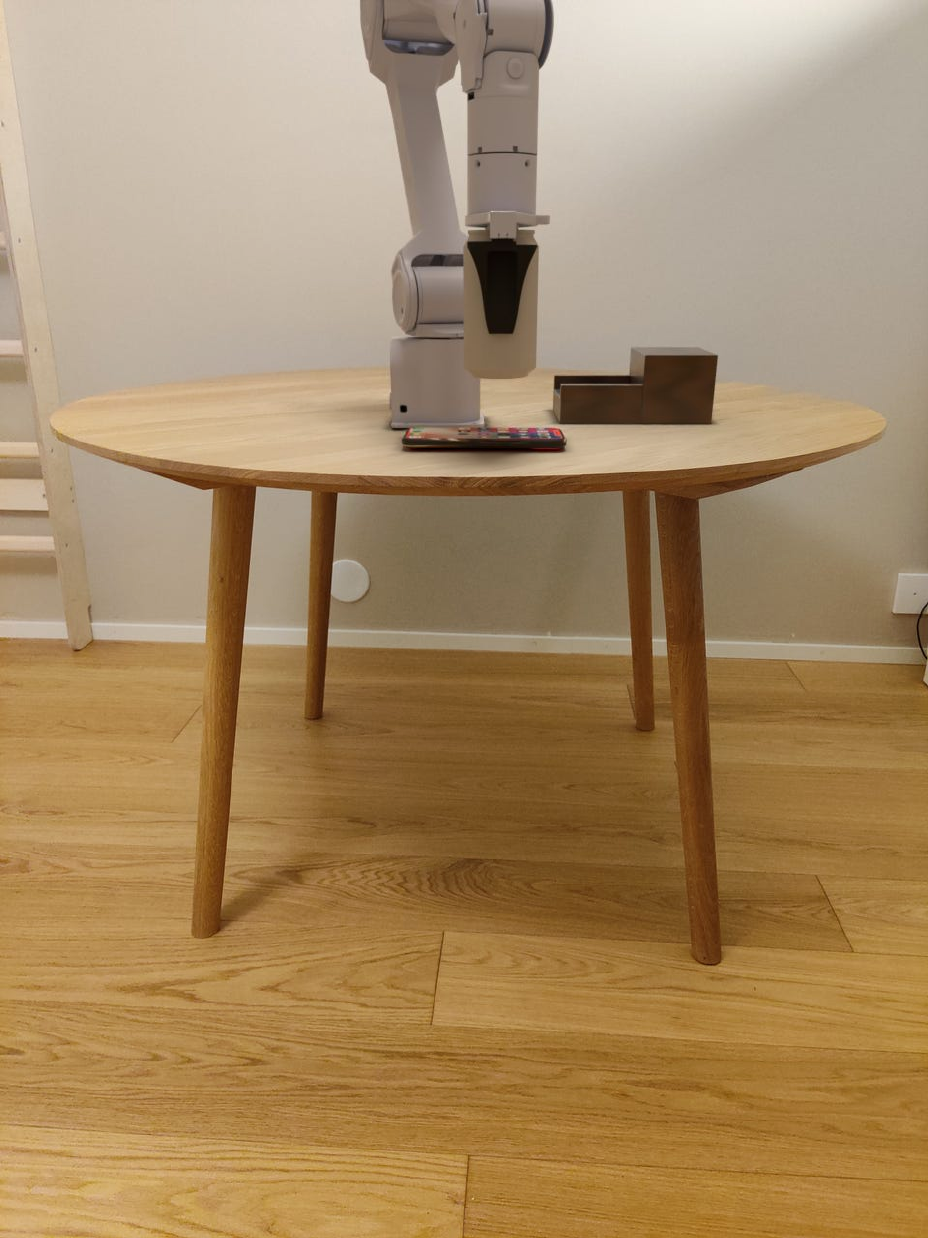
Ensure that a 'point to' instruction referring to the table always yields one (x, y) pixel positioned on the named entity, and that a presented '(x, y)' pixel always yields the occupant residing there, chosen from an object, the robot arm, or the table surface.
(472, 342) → the beverage can
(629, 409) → the wooden desk organizer
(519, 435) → the smartphone
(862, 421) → the table surface
